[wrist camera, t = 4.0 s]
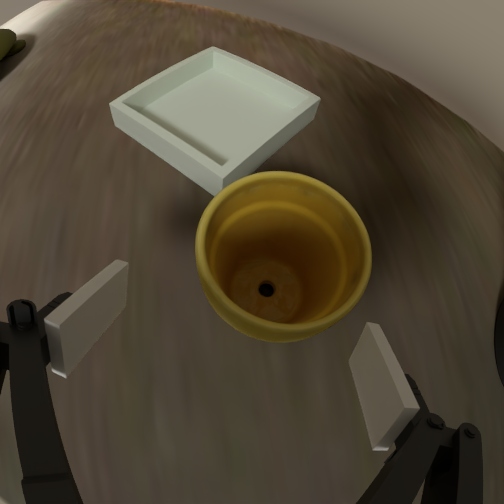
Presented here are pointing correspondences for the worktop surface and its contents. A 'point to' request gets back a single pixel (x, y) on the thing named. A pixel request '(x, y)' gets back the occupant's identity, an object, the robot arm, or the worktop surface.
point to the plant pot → (282, 255)
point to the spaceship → (9, 43)
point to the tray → (214, 116)
